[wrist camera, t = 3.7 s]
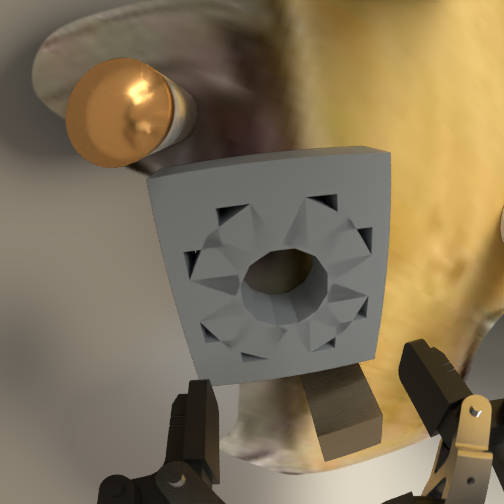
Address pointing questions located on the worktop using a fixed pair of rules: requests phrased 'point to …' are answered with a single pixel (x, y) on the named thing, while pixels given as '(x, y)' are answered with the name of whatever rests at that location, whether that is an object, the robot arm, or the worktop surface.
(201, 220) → the socket block
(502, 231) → the cylindrical container
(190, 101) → the cylinder
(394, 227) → the worktop surface
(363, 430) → the square bit
